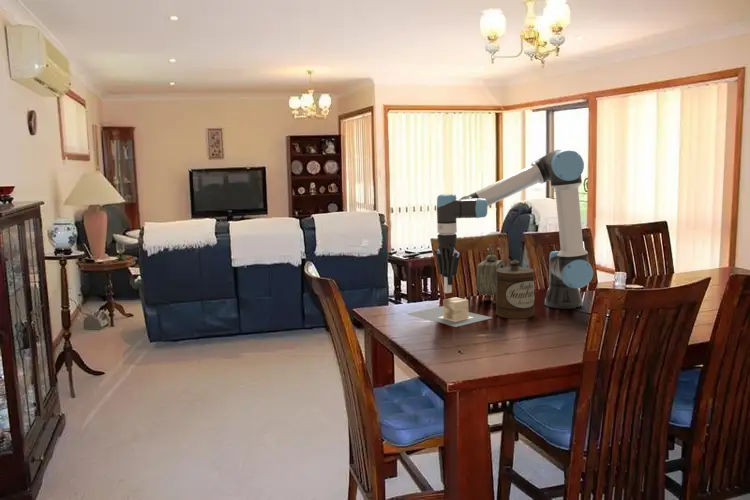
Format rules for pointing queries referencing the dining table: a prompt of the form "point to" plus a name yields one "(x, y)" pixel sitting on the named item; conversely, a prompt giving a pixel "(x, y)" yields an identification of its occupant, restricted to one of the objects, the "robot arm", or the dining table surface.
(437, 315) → the mat
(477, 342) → the dining table surface
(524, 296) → the wooden container
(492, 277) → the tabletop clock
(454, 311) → the birch cube
